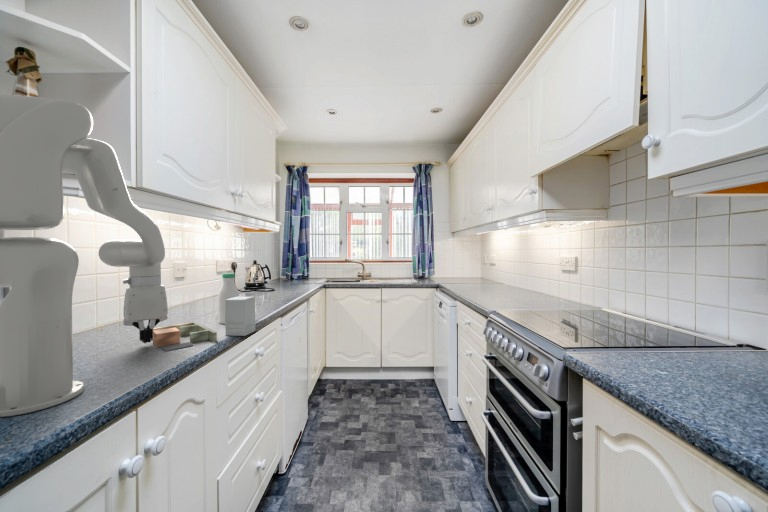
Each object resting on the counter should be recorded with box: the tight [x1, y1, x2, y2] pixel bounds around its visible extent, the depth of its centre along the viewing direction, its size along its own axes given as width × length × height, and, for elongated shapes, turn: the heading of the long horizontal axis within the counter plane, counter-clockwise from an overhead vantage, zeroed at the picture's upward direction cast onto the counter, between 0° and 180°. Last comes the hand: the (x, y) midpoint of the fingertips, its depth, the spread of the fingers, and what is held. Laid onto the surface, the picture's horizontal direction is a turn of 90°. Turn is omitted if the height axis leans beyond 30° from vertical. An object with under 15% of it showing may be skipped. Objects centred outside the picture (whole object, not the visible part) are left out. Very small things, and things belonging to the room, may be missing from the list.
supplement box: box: [224, 296, 256, 337], centre depth 107 cm, size 7×7×13 cm
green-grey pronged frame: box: [153, 321, 218, 344], centre depth 98 cm, size 16×22×3 cm
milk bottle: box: [217, 272, 240, 325], centre depth 124 cm, size 8×8×20 cm
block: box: [152, 327, 181, 348], centre depth 95 cm, size 6×6×4 cm
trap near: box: [161, 341, 194, 353], centre depth 91 cm, size 7×4×1 cm, turn 138°
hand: (146, 341), depth 92 cm, fingers closed
